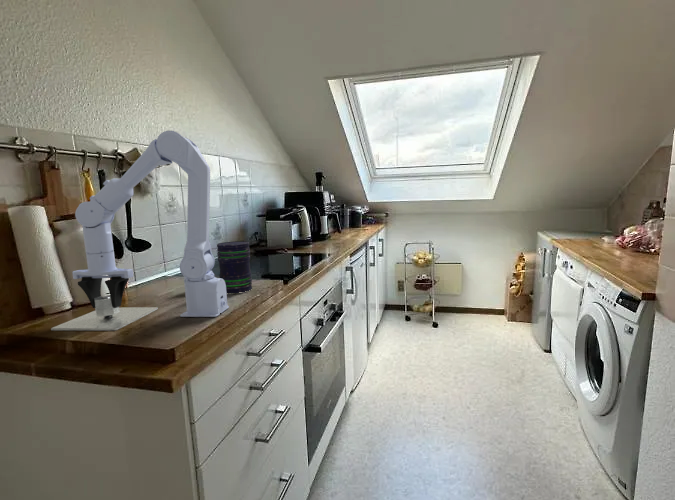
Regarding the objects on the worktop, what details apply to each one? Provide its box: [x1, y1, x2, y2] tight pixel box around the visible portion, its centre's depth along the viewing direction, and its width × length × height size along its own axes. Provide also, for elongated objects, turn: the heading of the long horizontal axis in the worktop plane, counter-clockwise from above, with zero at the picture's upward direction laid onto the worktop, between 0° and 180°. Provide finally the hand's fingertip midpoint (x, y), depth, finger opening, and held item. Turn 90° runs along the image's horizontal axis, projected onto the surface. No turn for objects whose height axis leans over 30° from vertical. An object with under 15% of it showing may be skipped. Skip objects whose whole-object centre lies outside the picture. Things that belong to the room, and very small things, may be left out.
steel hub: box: [94, 294, 120, 316], centre depth 91 cm, size 5×5×4 cm
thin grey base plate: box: [50, 296, 158, 332], centre depth 91 cm, size 16×16×6 cm
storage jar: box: [216, 240, 253, 294], centre depth 116 cm, size 10×10×15 cm
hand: (107, 306), depth 91 cm, fingers closed on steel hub, 5 cm apart
